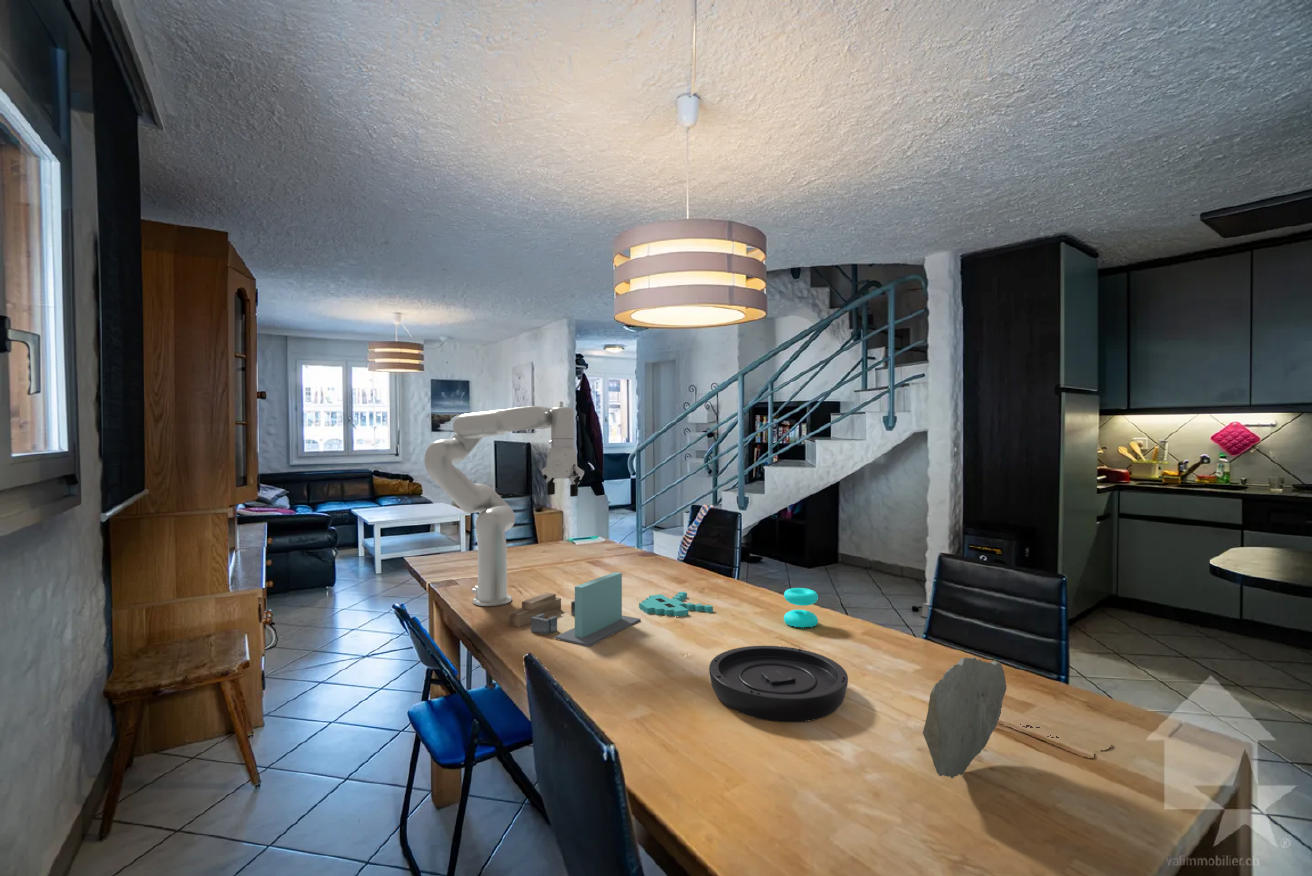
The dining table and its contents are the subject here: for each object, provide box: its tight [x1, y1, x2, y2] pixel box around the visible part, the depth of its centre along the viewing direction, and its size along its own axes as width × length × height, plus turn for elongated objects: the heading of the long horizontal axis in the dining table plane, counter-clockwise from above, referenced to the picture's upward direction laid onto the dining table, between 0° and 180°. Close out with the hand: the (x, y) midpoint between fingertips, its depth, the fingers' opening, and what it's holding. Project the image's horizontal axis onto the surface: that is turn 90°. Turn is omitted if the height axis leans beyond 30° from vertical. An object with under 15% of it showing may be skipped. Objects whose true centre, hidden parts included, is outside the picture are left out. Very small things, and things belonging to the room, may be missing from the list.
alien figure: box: [638, 591, 714, 618], centre depth 201 cm, size 20×2×20 cm
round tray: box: [708, 645, 849, 723], centre depth 136 cm, size 30×6×30 cm
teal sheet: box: [574, 571, 623, 638], centre depth 178 cm, size 2×20×14 cm, turn 150°
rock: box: [922, 656, 1007, 779], centre depth 104 cm, size 27×6×20 cm, turn 135°
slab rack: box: [530, 600, 575, 636], centre depth 185 cm, size 6×23×4 cm, turn 150°
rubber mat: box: [554, 614, 641, 647], centre depth 178 cm, size 12×26×1 cm, turn 150°
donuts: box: [783, 587, 819, 629], centre depth 184 cm, size 10×10×10 cm
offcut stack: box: [508, 592, 562, 628], centre depth 190 cm, size 4×20×6 cm, turn 152°
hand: (562, 495), depth 204 cm, fingers open, 9 cm apart
